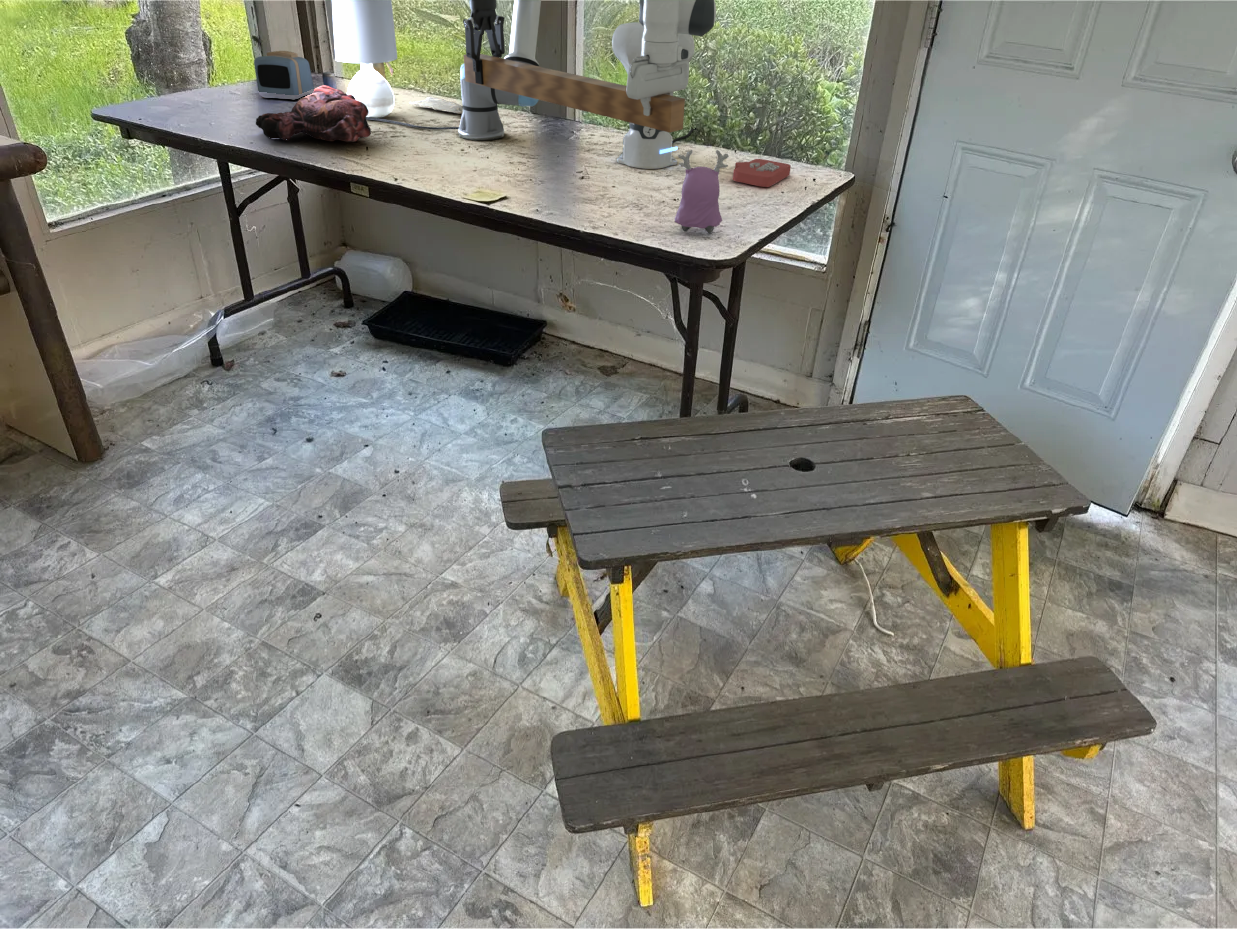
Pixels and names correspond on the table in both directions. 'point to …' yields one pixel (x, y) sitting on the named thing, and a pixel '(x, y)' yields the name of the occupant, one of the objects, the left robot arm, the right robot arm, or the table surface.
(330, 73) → the beverage can
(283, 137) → the raw meat chunk
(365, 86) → the lamp
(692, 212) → the toy character
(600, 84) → the post
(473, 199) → the table surface
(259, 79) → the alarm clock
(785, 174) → the plaque
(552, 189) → the table surface
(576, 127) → the table surface
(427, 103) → the stone tool
